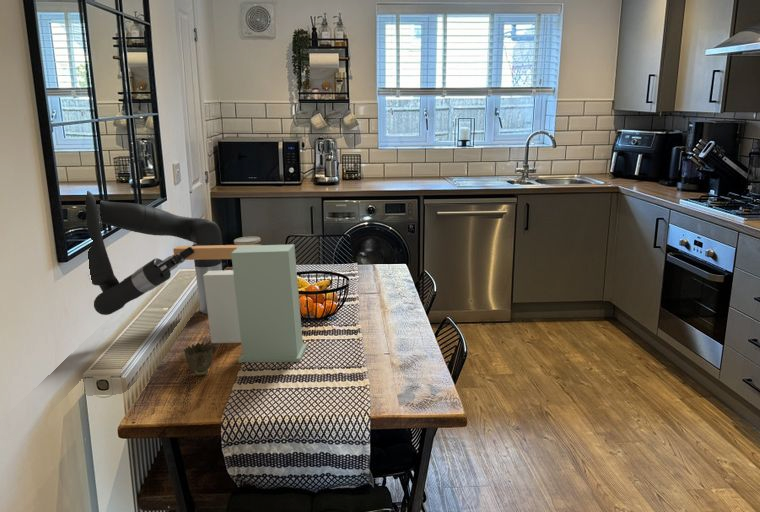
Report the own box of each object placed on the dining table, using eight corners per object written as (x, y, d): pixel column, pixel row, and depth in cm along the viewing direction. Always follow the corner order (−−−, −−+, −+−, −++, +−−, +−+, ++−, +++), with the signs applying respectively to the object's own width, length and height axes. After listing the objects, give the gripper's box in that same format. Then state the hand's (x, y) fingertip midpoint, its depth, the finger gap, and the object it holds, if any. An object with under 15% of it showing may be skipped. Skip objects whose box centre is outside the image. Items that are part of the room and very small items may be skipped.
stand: (248, 347, 187) (237, 244, 179) (307, 346, 185) (298, 243, 178) (238, 362, 176) (225, 254, 168) (300, 361, 175) (290, 252, 167)
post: (216, 337, 197) (208, 270, 191) (247, 336, 196) (240, 269, 190) (211, 343, 192) (203, 275, 186) (242, 342, 191) (235, 274, 186)
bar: (179, 257, 190) (177, 246, 189) (261, 255, 188) (261, 244, 187) (174, 259, 187) (173, 248, 186) (258, 258, 184) (257, 247, 184)
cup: (220, 370, 172) (217, 343, 170) (205, 381, 165) (201, 354, 163) (198, 367, 174) (194, 341, 172) (182, 378, 168) (178, 351, 166)
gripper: (133, 271, 183) (178, 242, 180) (153, 259, 196) (196, 232, 193) (148, 292, 184) (193, 263, 181) (167, 279, 198) (210, 252, 194)
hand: (194, 247), depth 187 cm, fingers closed on bar, 3 cm apart
